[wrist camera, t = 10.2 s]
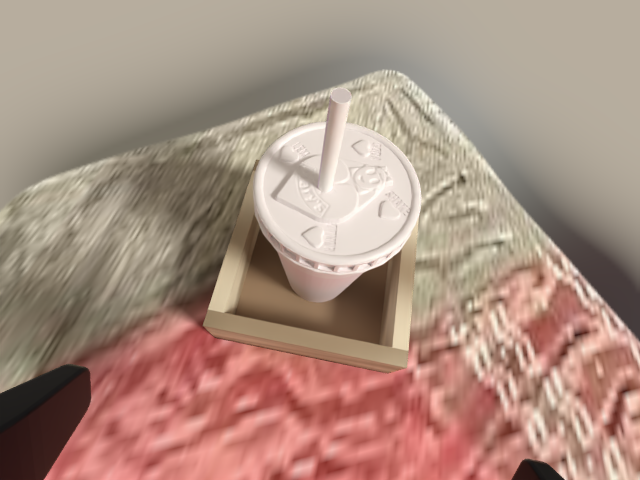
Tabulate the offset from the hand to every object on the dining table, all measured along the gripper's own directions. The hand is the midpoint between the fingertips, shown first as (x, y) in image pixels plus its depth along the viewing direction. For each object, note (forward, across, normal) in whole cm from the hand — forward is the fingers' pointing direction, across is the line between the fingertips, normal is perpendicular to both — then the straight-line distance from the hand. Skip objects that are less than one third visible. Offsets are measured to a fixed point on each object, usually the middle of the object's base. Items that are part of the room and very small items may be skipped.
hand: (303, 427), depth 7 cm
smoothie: (+14, 0, +4) cm, 15 cm away
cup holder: (+15, 0, +4) cm, 15 cm away
